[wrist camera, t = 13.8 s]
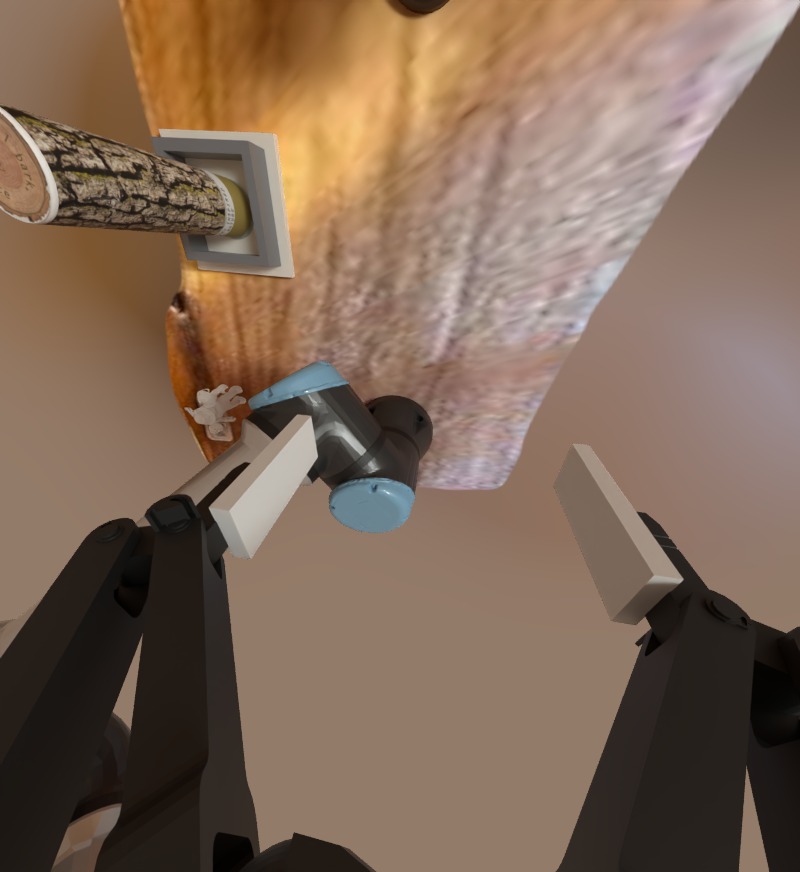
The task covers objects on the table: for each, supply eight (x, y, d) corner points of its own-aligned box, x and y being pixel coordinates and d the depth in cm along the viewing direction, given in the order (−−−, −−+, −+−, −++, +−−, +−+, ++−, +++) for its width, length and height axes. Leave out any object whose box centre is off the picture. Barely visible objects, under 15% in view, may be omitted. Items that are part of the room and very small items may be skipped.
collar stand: (294, 277, 45) (280, 279, 42) (203, 268, 47) (181, 270, 43) (277, 136, 36) (257, 122, 33) (164, 131, 38) (133, 118, 34)
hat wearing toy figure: (223, 373, 57) (175, 399, 47) (241, 375, 57) (197, 401, 47) (235, 412, 62) (194, 442, 52) (252, 414, 62) (213, 445, 52)
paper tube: (245, 176, 38) (0, 87, 18) (258, 237, 42) (70, 222, 21) (200, 178, 39) (-82, 96, 19) (218, 237, 43) (-1, 224, 22)
